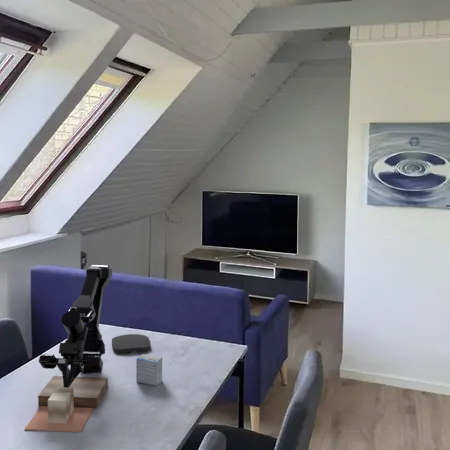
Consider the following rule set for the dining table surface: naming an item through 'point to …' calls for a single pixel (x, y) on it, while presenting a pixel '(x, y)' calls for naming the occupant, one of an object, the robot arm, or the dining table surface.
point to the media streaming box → (131, 344)
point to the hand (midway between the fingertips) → (65, 389)
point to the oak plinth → (77, 391)
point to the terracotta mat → (72, 424)
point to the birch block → (60, 405)
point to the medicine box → (149, 369)
